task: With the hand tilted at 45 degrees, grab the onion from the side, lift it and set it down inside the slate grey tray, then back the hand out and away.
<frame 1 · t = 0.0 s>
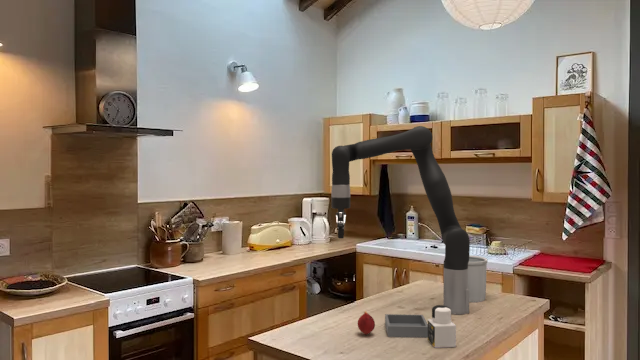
hand: (341, 236, 196), 29 cm above the counter, tool pointing down, fingers open, 8 cm apart
slate grey tray: (406, 330, 172), on the counter
onion: (366, 335, 168), on the counter
medicine bottle: (441, 344, 159), on the counter
utensil holder: (469, 298, 214), on the counter
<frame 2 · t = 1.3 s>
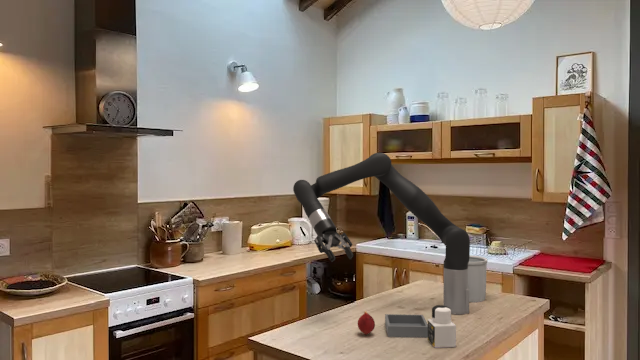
hand: (342, 258, 176), 24 cm above the counter, tool tilted 45°, fingers open, 8 cm apart
nothing on the counter moved.
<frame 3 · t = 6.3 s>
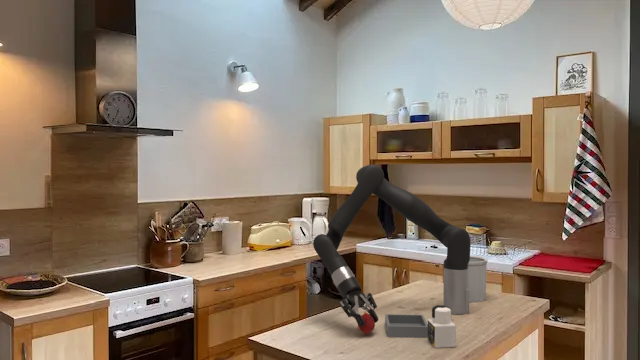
hand: (369, 323, 166), 4 cm above the counter, tool tilted 45°, fingers closed on onion, 5 cm apart
onion: (366, 335, 168), on the counter, touching gripper
everything else where it was.
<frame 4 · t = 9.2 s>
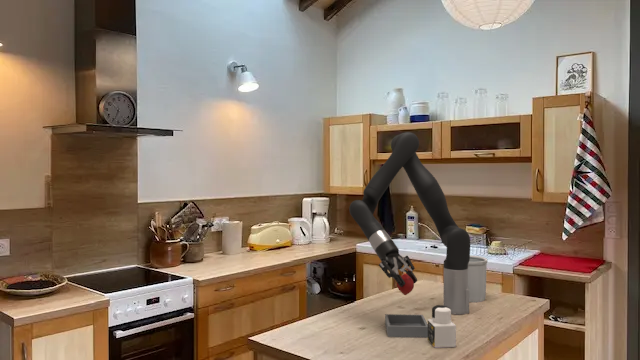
hand: (409, 283, 170), 17 cm above the counter, tool tilted 45°, fingers closed on onion, 5 cm apart
onion: (405, 295, 172), point 12 cm above the counter, touching gripper
everything else where it was.
when the fingers open (6 cm above the counter, at t = 12.3 s): onion drops 1 cm, resting on slate grey tray.
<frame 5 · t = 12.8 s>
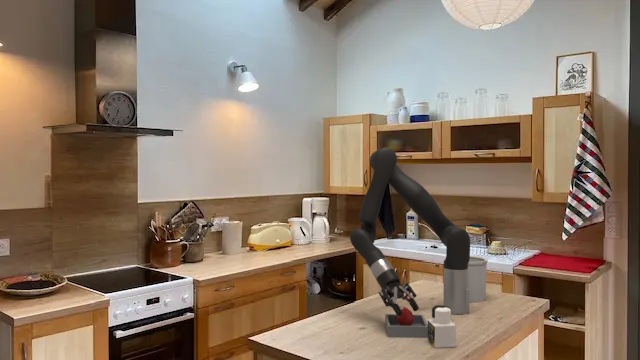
hand: (409, 312, 171), 7 cm above the counter, tool tilted 45°, fingers open, 8 cm apart
onion: (405, 329, 172), resting on slate grey tray
everything else where it was.
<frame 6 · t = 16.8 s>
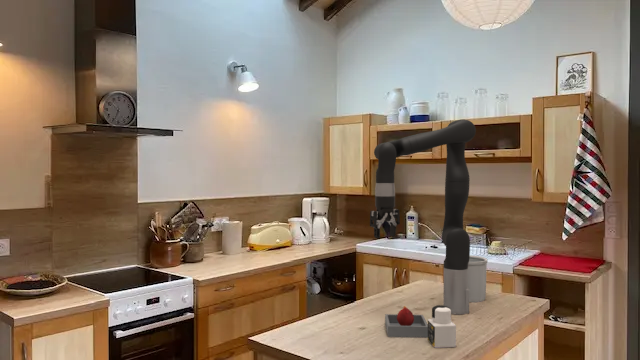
hand: (385, 237, 189), 30 cm above the counter, tool pointing down, fingers open, 8 cm apart
nothing on the counter moved.
at the end: onion inside the target area on the slate grey tray (0.2 cm from its centre), point 0.4 cm above the slate grey tray's base; the gripper is holding nothing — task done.
